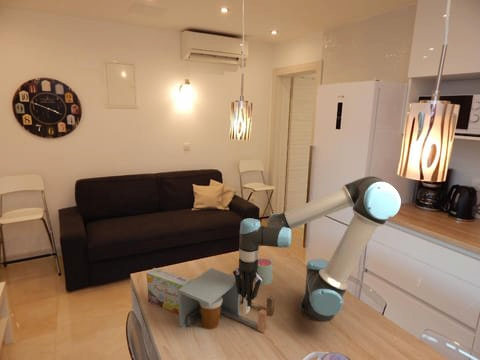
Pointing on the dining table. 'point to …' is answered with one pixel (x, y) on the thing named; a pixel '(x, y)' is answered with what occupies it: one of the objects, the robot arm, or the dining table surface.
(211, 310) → the disposable coffee cup
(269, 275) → the mug
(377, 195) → the robot arm
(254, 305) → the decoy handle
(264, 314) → the wood-tipped metal rod
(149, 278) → the snack box
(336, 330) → the dining table surface
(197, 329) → the dining table surface
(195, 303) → the shelf cubby
